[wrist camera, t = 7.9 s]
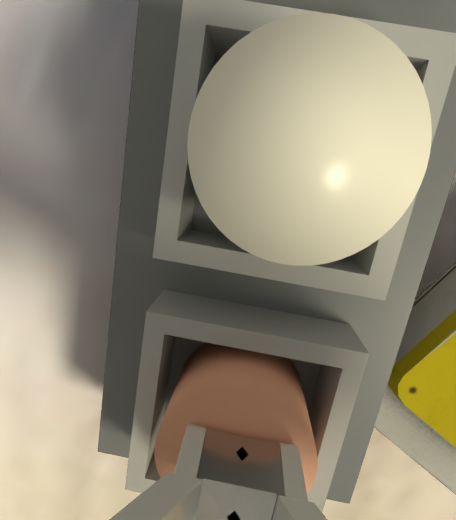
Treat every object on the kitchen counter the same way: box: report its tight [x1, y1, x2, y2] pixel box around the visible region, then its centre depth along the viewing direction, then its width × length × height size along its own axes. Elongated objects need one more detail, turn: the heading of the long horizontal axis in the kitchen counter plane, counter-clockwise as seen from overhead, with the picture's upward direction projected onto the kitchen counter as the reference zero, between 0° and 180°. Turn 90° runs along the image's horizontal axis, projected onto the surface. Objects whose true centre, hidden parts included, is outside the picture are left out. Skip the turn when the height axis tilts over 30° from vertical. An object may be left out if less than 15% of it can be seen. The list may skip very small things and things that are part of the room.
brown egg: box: [154, 343, 318, 494], centre depth 11 cm, size 4×4×3 cm
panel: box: [98, 0, 456, 512], centre depth 11 cm, size 24×10×5 cm, turn 170°
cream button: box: [187, 13, 432, 266], centre depth 8 cm, size 4×4×3 cm
